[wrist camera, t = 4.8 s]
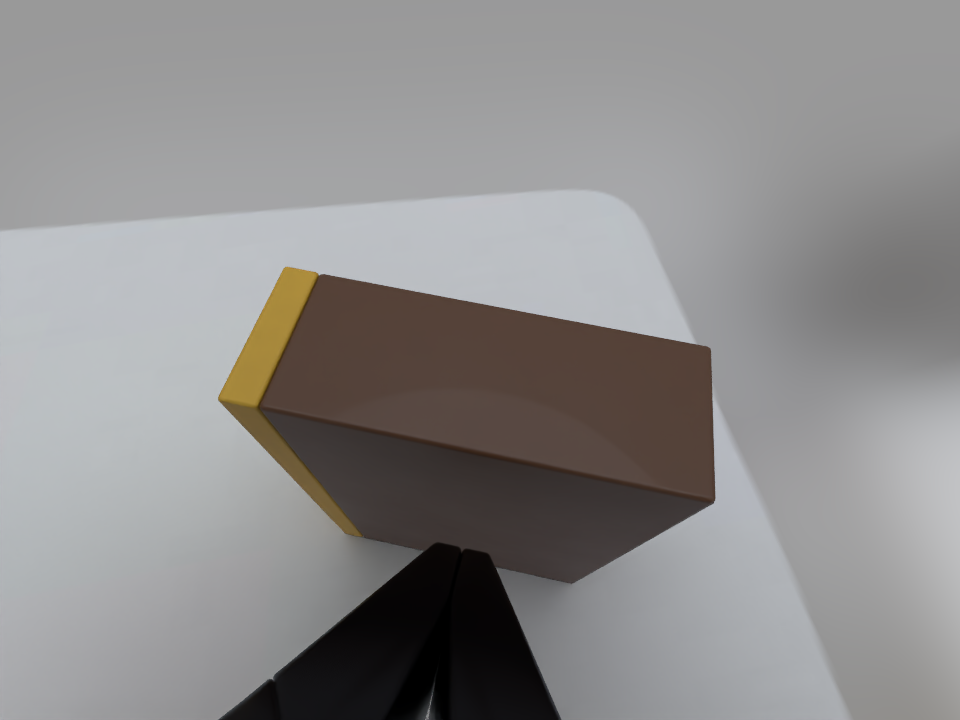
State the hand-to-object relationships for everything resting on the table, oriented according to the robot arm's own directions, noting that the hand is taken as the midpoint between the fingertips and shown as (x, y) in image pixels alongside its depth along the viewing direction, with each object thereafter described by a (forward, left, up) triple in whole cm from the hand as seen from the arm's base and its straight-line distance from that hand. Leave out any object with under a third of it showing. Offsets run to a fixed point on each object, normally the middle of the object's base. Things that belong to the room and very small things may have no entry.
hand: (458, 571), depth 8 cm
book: (+3, 0, -8) cm, 8 cm away
